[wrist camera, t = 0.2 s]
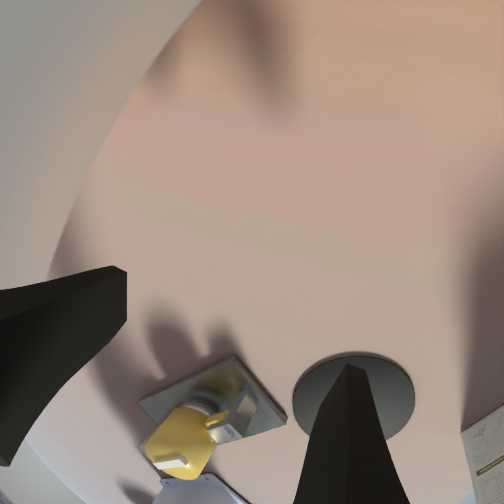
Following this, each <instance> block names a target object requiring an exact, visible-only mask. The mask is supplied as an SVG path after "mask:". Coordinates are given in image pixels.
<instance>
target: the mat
mask: <svg viewBox="0 0 504 504" xmlns="http://www.w3.org/2000/svg"><path fill="white" fill-rule="evenodd" d="M346 363H347V364H350V365H353V366H356V367H359V368H362V369H365V370H366V372H367V375H368V379H369V383H370V387H371V391H372V395H373V398H374V402H375V406H376V410H377V413H378V417H379V420H380V424H381V427H382V430H383V434H384V437H385V440H388V439H389V438H391V437H393V436H394V435H395V434H397V433H398V432H399V431H400V430H401V429H402V428H403V427H404V426H405V425H406V424H407V422H408V421H409V419H410V418H411V415H412V413H413V410H414V407H415V393H414V389H413V385H412V383H411V381H410V379H409V378H408V377H407V375H406V374H405V373H404V372H403V371H402V370H401V369H399V368H398V367H397V366H395V365H393V364H391V363H389V362H387V361H384V360H382V359H378V358H374V357H366V356H352V357H344V358H339V359H336V360H332V361H329V362H327V363H325V364H322V365H320V366H319V367H317V368H315V369H314V370H313V371H311V372H310V373H309V374H308V375H307V376H306V377H304V379H303V380H302V381H301V382H300V384H299V386H298V387H297V389H296V392H295V395H294V399H293V413H294V416H295V419H296V421H297V423H298V425H299V426H300V427H301V429H302V430H303V431H304V432H305V433H306V434H307V435H309V436H310V434H311V431H312V428H313V425H314V422H315V419H316V416H317V413H318V410H319V407H320V405H321V403H322V402H323V400H324V399H325V397H326V395H327V394H328V392H329V391H330V389H331V388H332V386H333V384H334V383H335V381H336V379H337V378H338V376H339V375H340V373H341V371H342V370H343V368H344V366H345V365H346Z"/></svg>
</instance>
